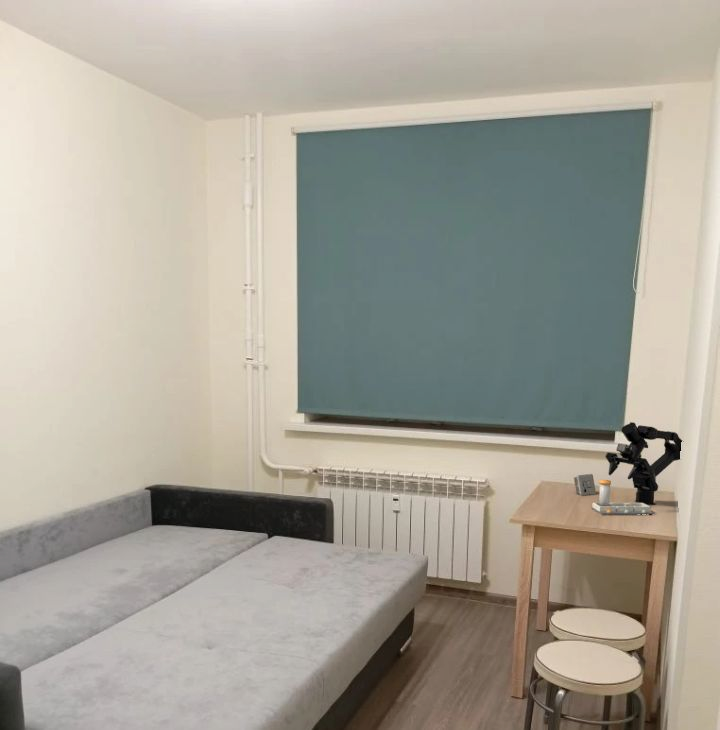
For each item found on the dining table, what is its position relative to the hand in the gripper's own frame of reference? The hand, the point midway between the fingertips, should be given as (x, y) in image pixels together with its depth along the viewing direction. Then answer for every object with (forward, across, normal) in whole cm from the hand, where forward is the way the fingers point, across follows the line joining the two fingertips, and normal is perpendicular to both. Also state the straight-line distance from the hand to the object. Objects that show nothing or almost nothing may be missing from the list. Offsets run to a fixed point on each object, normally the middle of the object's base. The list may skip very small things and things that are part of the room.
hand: (618, 476), depth 281 cm
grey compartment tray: (+12, +5, +7) cm, 15 cm away
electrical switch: (+2, -25, +17) cm, 31 cm away
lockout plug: (+16, 0, +2) cm, 16 cm away
